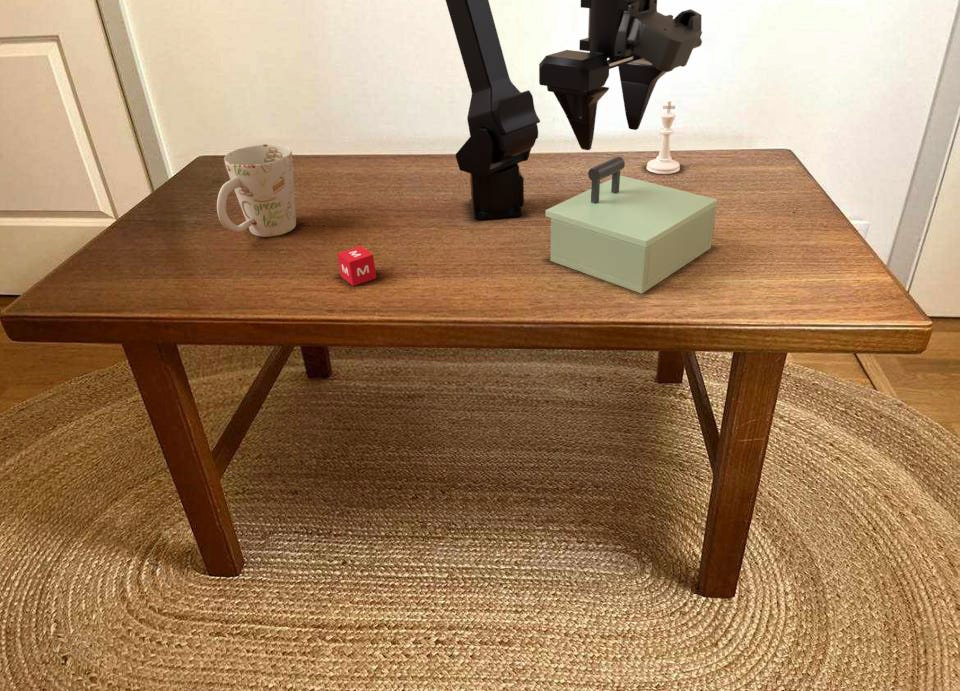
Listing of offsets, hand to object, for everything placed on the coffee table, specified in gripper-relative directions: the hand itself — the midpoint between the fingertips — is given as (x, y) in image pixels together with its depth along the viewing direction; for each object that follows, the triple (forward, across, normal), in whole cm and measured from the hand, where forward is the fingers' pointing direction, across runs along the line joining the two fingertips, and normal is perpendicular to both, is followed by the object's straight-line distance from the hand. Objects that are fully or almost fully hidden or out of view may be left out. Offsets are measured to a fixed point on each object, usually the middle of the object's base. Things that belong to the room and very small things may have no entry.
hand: (610, 139), depth 81 cm
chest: (+13, 0, -4) cm, 14 cm away
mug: (+13, -25, +37) cm, 46 cm away
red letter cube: (+13, -25, +17) cm, 33 cm away
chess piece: (+13, +28, +9) cm, 32 cm away
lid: (+8, 0, -4) cm, 8 cm away
